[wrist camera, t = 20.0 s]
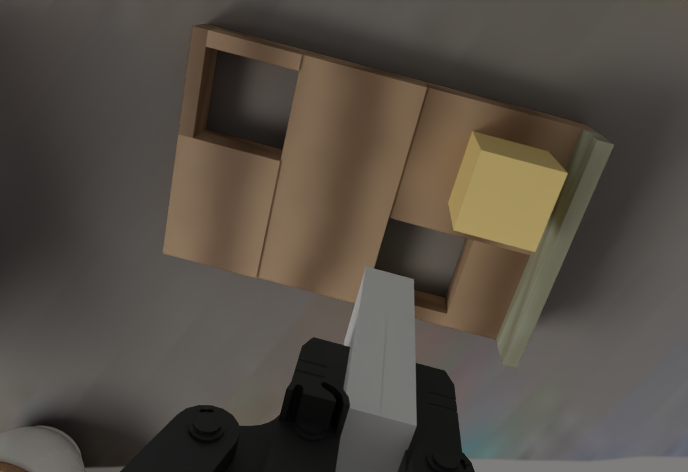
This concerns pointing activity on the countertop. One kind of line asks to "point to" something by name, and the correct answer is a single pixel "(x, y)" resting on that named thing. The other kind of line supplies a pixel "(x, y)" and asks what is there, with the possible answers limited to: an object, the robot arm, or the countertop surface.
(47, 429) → the lidded jar
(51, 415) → the countertop surface
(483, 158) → the cube
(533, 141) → the trap deck
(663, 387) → the countertop surface
